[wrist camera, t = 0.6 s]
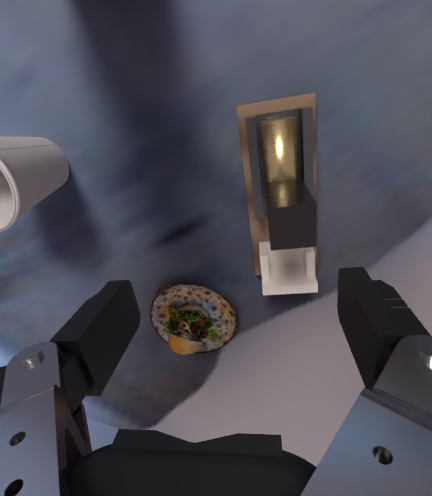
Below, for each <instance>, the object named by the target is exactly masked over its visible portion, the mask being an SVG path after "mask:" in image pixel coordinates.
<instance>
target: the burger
mask: <svg viewBox="0 0 432 496" xmlns="http://www.w3.org/2000/svg"><path fill="white" fill-rule="evenodd" d="M150 320H151V323H152V326H153V327H154V329H155V331H156V333H157V334H158V335H159V336H160V337H161V338H162V339H163V340H164V341H165V342H167V343H168V344H169V346H170V348H171V349H172V350H173V351H174V352H176V353H178V354H181V355H188V354H192V353H206V352H211V351H215V350H218V349H220V348H221V347H223V346H224V345H226V344H227V343H228V342H229V341H230V340H231V339H232V337H233V335H234V333H235V331H236V327H237V323H238V318H237V313H236V310H235V309H234V308H233V307H232V306H231V305H230V303H229V302H228V300H227V299H226V298H224V297H223V296H222V295H220V294H219V293H217V292H215V291H212V290H210V289H208V288H206V287H204V286H202V285H183V284H177V285H172V286H171V285H169V286H166V287H164V288H163V289H162V290H160V289H159V290H158V292H156V296H155V298H154V299H153V300H152V302H151V305H150ZM179 356H180V355H179ZM178 360H179V358H178ZM178 360H177V362H178ZM176 365H177V363H176ZM175 368H176V366H175Z"/></svg>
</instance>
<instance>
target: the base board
mask: <svg viewBox="0 0 432 496" xmlns="http://www.w3.org/2000/svg"><path fill="white" fill-rule="evenodd" d="M300 107H313V161H314V200H315V202H316V210H317V193H316V92H315V93H308V94H303V95H297V96H291V97H285V98H280V99H274V100H268V101H262V102H256V103H251V104H245V105H239V106H236V108H237V117H238V125H239V134H240V143H241V151H242V160H243V169H244V177H245V186H246V195H247V203H248V212H249V221H250V229H251V238H252V247H253V256H254V264H255V273H256V275H262V274H261V265H260V252H259V242H267V241H270V238H269V229H268V219H267V210H264V219H257V220H256V217H255V207H254V198H253V188H252V179H251V169H250V160H249V150H248V141H247V131H246V122H245V118H246V116H252V115H258V114H264V113H270V112H276V111H282V110H288V109H294V108H300ZM313 249H314V251H315V271H317V247H313Z"/></svg>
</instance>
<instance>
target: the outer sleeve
mask: <svg viewBox="0 0 432 496" xmlns="http://www.w3.org/2000/svg"><path fill="white" fill-rule="evenodd" d="M289 116H296V118H297V146H298V174H299V178H302V180H303V181H304V183H305V185H306V186H307V188H308V190H309V192H310V193H311V195H312V197H313V198H314V161H313V107H300V108H294V109H288V110H282V111H276V112H270V113H264V114H258V115H252V116H246V118H245V122H246V131H247V141H248V150H249V160H250V169H251V179H252V188H253V198H254V207H255V217H256V220H257V219H264V210H267V208H266V197H265V185H264V183H265V173H264V161H263V150H262V138H261V126H260V122H261V121H265V120H269V119H275V118H281V117H289Z"/></svg>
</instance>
